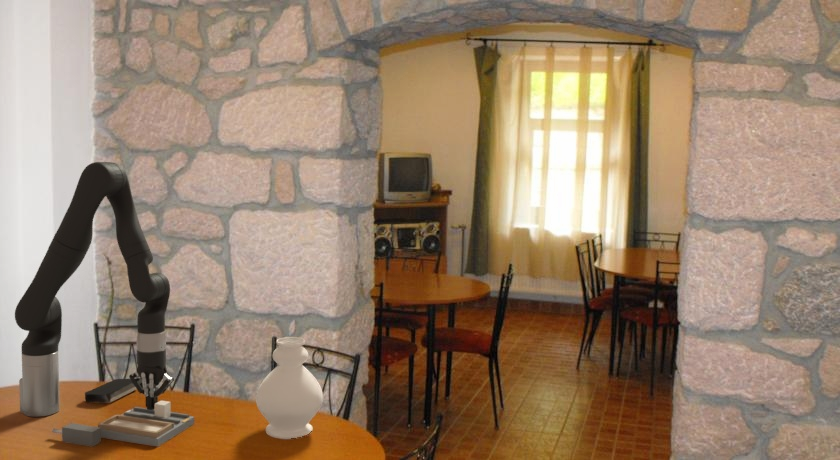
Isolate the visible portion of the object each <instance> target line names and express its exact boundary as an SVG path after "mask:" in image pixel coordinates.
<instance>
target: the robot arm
mask: <svg viewBox="0 0 840 460" xmlns="http://www.w3.org/2000/svg"><path fill="white" fill-rule="evenodd" d="M74 190H75V191H74V192H73V196H72V199H71V200H70V204H69V206H68V208H67V209H66V211H65V213H64V216H63V218H62V220H61V222H60V225H59V226H58V228H57V231H56V232H55V234H54V236H53V237H52V240H51V242H50V244H49V245H48V248H47V251H46V253H45V255H44V256H43V259H42V261H41V262H40V265H39V267H38V269H37V271H36V272H35V273H36V274H35V275H34V278H33V279H32V281H31V282H30V284H29V286H28V288H27V289H26V290H25V292H24V294H23V295H22V297H21V298H20V300H19V302H17V304H16V308H15V311H14V320H15V323H16V324H17V326H18V328H19V329H21V330H24V331H27V332H28V333H27V335H26V337H25V339H24V340H23V341H22V343H21V372H22V373H21V375H22V376H21V377H22V378H20V379H19V381H18V383H19V384H18V386H19V413H21V414H23V415H25V416H26V417H46V416H50V415H53V414H56V413H57V412H60V369H59V368H60V364H59V358H60V357H59V345H60V342H61V338H62V327H63V325H62V321H63V319H62V318H63V313H62V312H63V311H62V305H61V302H60V301H59V299H58V297H56V295H57V294H58V292H59V291H60V290H61V288H62V286H63V285H64V284H65V283H66V282H67V281H68V280H69V278H70V277H72V276H73V274H74V273H75V272H76V271H77V269H78V268H79V267H80V265H81V264H82V263H83V261H84V259H85V256H86V255H87V253H88V251H89V249H90V246H91V244H92V241H93V226H94V225H93V223H94V222H93V221H94V218H95V215H96V212H97V211H98V208H99V207H100V205H101V203H102V202H103V200H104V199H105V198H106V199H107V200H108V202H109V204H110V206H111V209H112V211H113V214H114V218H115V219H114V220H115V233H116V234H115V235H116V241H117V245H118V248H119V250H120V253H121V255H122V258H123V260H124V262H125V264H126V270H127V277H128V285H129V289H130V292H131V294H132V296H133V297H134V298H135V300H137V301H138V302H140V303H143V304H144V303H145V304H144V307H143V308H142V309H141V310H140V311H138V314H137V319H136V320H137V336H136V365H137V367H136V371H135V372H133V373H131V374H129V375H128V376H129V378H128V379H131V381H132V382H133V384H134V385H135V387H136V388H137V389H136V390H137V392H138V393H139V394H143V395H144V396H145V408H147V409H148V410H154V404H155V403H157V402H159V401H158V400H159V399H158V398H159V396H160V395H162V394H164V393H165V392H166V391H167V390H168V389H169V387H170V386H171V385H172V383H173V382H174V380H175V379H174V377H173V376H169V375H168V374H167V373H168V371H167V369H166V363H167V335H166V324H165V323H166V317H165V316H166V312H167V307H168V304H169V300H170V294H171V286H170V285H171V284H170V281H169V279H168V277H167V276H166V275H165V274H164V273H162V272H154V273H153V272H152V273H150V269H149V265H150V264H151V263H153V259H154V256H153V254H152V251H151V249H150V245H149V244H148V242H147V239H146V236H145V234H144V231H143V230H142V229H143V228H142V227H141V224H140V222H139V221H140V220H139V217H138V213H137V211H136V205H135V203H134V198H133V194H132V190H131V186H130V181H129V178H128V174H127V172H126V170H125V168H123V166H122V165H120V164H119V163H116V162H113V161H111V162H110V161H94V162H91V163H89V164H87V166H85V167H84V169H83V170H82V172H81V174H80V177H79V178H78V182H77V184H76V187H75V189H74ZM161 383H162V384H161Z"/></svg>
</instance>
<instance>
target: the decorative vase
mask: <svg viewBox="0 0 840 460" xmlns="http://www.w3.org/2000/svg"><path fill="white" fill-rule="evenodd" d="M305 344H306V340H305V339H304V338H303V337H299V336H298V337H297V336H286V337H280V338H278V339H276V345H278V347H276V348H275V350H273V352H272V359H273V361H274V362H275V363H276V364H277V366H275V367H274V368H273V370H271V371H270V372H269V373H268V374H267V375H266V377H264V379H263V381H261V384H260V385H259V387H258V389H257V392H256V394H255V401H256V402H255V403H256V406H257V409H258V411H259V412H260V413H261V415H262V416H263V417H264V418H265V420H266V421H267V422H268V423H269V424H268V425H266V427H265V433H266V434H267V435H268V436H269V437H271V438H275V439H280V440H292V439H291V438H296V439H298V438H297V437H301V438H303V437H302V436H304V435H307V434H309V433H310V432H311V431H312V432H313V425H311V424H310V422H311V420H312V419H313V418H314V417H315V416H316V415H317V413H318V412H319V410H320V409H321V407H322V405H323V402H324V393H323V389H322V387H321V385H320V383H319V382H318V380H317V378H316V377H315V376H314V374H313V373H312V372H311V371H310V370H308V369H307V368H306V367H305V365H303V364H305V362H306V361H307V360H308V358H309V352H308V350H307V349H306V348H305V347H304V345H305ZM312 432H311V433H312ZM311 433H310V434H311ZM310 434H309V435H310ZM307 436H308V435H307Z"/></svg>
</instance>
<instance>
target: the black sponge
mask: <svg viewBox="0 0 840 460" xmlns="http://www.w3.org/2000/svg"><path fill="white" fill-rule="evenodd" d="M136 390H137V388H136V387H135V385H134V384H133V382H132V381H131V379H130V378H117V379H116V378H115V379H113V380H111V381H109V382H106V383H104V384H102V385H100V386H96V387H95V388H93V389H91V390H88V391H85V392H84V399H85V402H86V403H95V404H96V403H99V404H100V403H101V404H110V403H112V402H114V401H116V400H119V399H120V398H122V397H124V396H126V395H129V394H130V393H132V392H134V391H136Z"/></svg>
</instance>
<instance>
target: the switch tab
mask: <svg viewBox="0 0 840 460" xmlns="http://www.w3.org/2000/svg"><path fill="white" fill-rule="evenodd" d="M171 404H172V403H171V401H167V400H159V401H158V402H157V403H155V404H154V410H155V416H157V417H164V418H168V417H170V416H171V412H172V410H171V406H172V405H171Z"/></svg>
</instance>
